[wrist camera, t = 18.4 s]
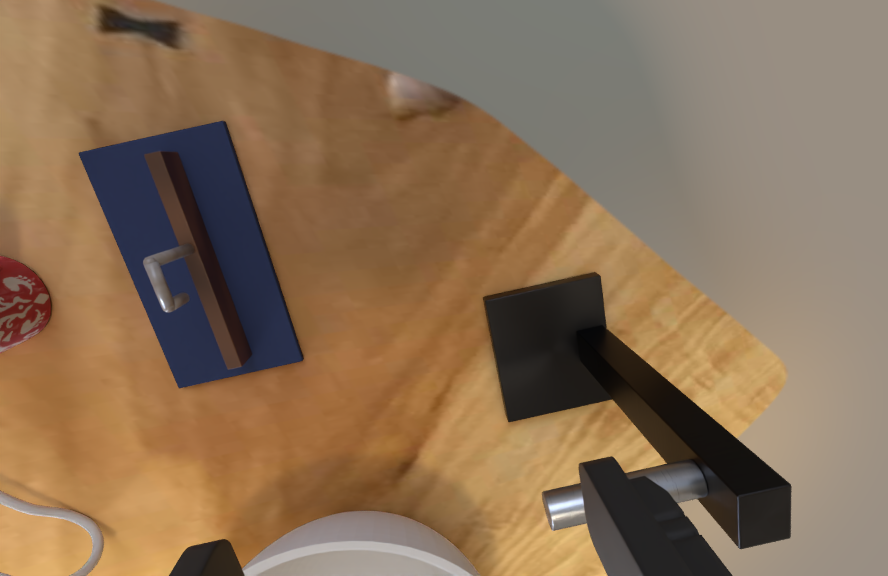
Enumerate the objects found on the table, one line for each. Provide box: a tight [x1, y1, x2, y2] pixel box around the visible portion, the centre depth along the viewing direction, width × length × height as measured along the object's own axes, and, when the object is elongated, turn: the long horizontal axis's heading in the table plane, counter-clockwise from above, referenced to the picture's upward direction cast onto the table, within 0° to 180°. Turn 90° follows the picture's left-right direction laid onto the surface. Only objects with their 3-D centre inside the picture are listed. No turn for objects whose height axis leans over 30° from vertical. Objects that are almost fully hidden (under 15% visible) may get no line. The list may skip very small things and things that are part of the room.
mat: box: [79, 121, 304, 388], centre depth 35 cm, size 20×11×1 cm, turn 12°
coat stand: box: [483, 272, 791, 549], centre depth 29 cm, size 12×10×21 cm
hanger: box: [143, 151, 252, 370], centre depth 31 cm, size 17×1×8 cm, turn 12°
